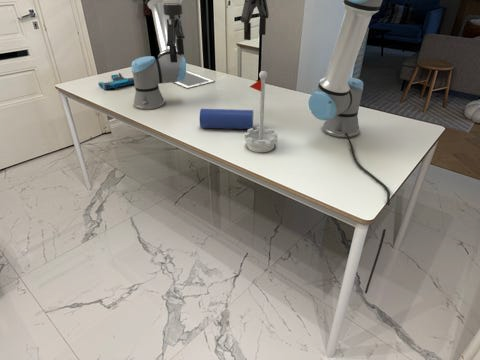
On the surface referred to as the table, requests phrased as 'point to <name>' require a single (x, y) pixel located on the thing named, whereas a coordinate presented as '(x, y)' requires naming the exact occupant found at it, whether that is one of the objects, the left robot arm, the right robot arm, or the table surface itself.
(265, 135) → the flag stand
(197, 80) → the tablet
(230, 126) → the rod
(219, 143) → the table surface
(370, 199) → the table surface
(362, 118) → the table surface
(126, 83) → the submachine gun
